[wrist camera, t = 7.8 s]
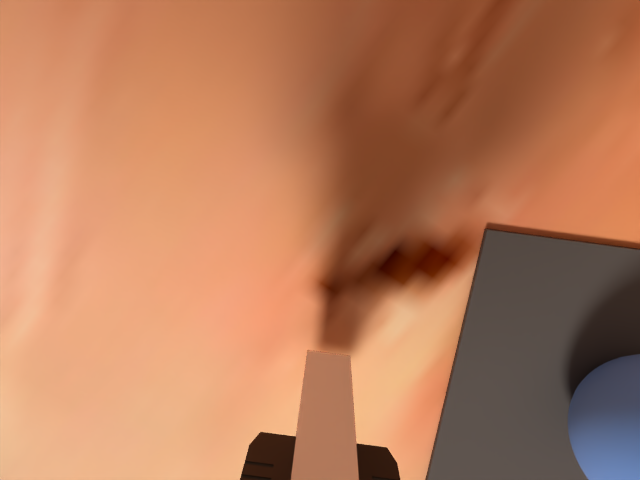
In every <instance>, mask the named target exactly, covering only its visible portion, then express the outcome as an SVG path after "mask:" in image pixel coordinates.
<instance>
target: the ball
mask: <svg viewBox="0 0 640 480" xmlns="http://www.w3.org/2000/svg"><path fill="white" fill-rule="evenodd" d="M568 433H569V439H570V443H571V446H572V450H573V452H574V455H575V457H576V459H577V461H578V463H579V465H580V467H581V469H582V471H583V472H584V474H585V475H586V477H587V478H588V480H640V354H635V355H629V356H624V357H619V358H616V359H613V360H611V361H608V362H606V363H604V364H602V365H600V366H598V367H597V368H595V369H594V370H593V371H591V372H590V373H589V374H588V375H587V376H586V377H585V378H584V379H583V380H582V381H581V383H580V384H579V385H578V387H577V388H576V390H575V392H574V394H573V397H572V399H571V402H570V406H569V411H568Z"/></svg>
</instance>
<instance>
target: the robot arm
mask: <svg viewBox="0 0 640 480" xmlns="http://www.w3.org/2000/svg"><path fill="white" fill-rule="evenodd" d="M240 480H400V476H399V471H398V465H397V462H396V461H395V459H394V458H393V456H392V455H391V453H390V452H389V450H388V449H387V448H386V447H379V446H371V445H364V444H356V432H355V417H354V403H353V389H352V374H351V360H350V356H348V355H340V354H333V353H325V352H318V351H310V350H307V356H306V364H305V371H304V378H303V386H302V393H301V401H300V408H299V416H298V424H297V431H296V437H294V436H287V435H279V434H272V433H264V432H260V433H259V435H258V436H257V437H256V438H255V439H254V440H253V441H252V443H251V444H250V445H249V449H248V452H247V456H246V460H245V464H244V467H243V471H242V474H241V478H240Z"/></svg>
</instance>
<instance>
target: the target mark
mask: <svg viewBox="0 0 640 480" xmlns="http://www.w3.org/2000/svg"><path fill="white" fill-rule="evenodd" d="M635 354H640V249H634V248H627V247H619V246H612V245H604V244H597V243H589V242H582V241H574V240H567V239H559V238H552V237H544V236H537V235H529V234H522V233H514V232H506V231H499V230H491V229H485V232H484V236H483V240H482V244H481V248H480V253H479V257H478V261H477V265H476V270H475V274H474V278H473V282H472V286H471V291H470V295H469V299H468V303H467V308H466V312H465V316H464V320H463V324H462V329H461V333H460V337H459V341H458V346H457V350H456V354H455V358H454V362H453V367H452V371H451V375H450V379H449V384H448V388H447V392H446V396H445V400H444V405H443V409H442V413H441V417H440V422H439V426H438V430H437V434H436V438H435V443H434V447H433V451H432V455H431V460H430V464H429V468H428V472H427V476H426V480H588V478H587V477H586V475H585V474H584V472H583V471H582V469H581V467H580V465H579V463H578V461H577V459H576V457H575V455H574V452H573V450H572V446H571V443H570V439H569V433H568V411H569V406H570V402H571V399H572V397H573V394H574V392H575V390H576V388H577V387H578V385H579V384H580V383H581V381H582V380H583V379H584V378H585V377H586V376H587V375H588V374H589V373H590V372H591V371H593V370H594V369H595V368H597V367H598V366H600V365H602V364H604V363H606V362H608V361H611V360H613V359H616V358H619V357H624V356H629V355H635Z"/></svg>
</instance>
